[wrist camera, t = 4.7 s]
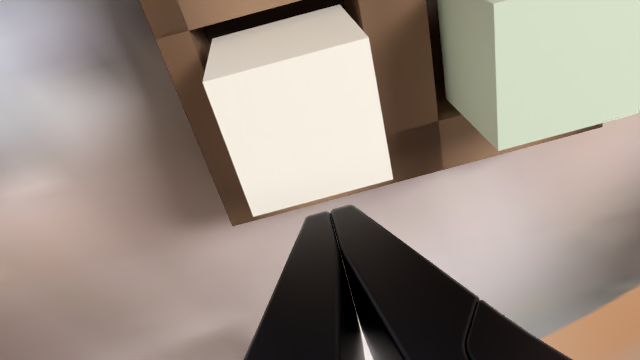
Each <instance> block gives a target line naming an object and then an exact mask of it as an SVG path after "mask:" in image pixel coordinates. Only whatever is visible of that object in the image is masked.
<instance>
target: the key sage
mask: <svg viewBox="0 0 640 360" xmlns="http://www.w3.org/2000/svg"><path fill="white" fill-rule="evenodd" d="M437 5H438V16H439V26H440V37H441V48H442V59H443V70H444V81H445V92H446V99H447V100H448V101H449V102H450V103H451V104H452V105H453V106H454V107H455V108H456V109H457V110H458V111H459V112H460V113H461V114H462V115H463V116H464V117H465V118H466V119H467V120H468V121H469V122H470V123H471V124H472V125H473V126H474V127H475V128H476V129H477V130H478V131H479V132H480V133H481V134H482V135H483V136H484V137H485V138H486V139H487V140H488V141H489V142H490V143H491V144H492V145H493V146H494V147H495V148H496V149H497V150H498V151H500V150H504V149H508V148H512V147H515V146H519V145H523V144H526V143H530V142H534V141H538V140H541V139H545V138H549V137H553V136H556V135H560V134H564V133H567V132H571V131H575V130H579V129H582V128H586V127H590V126H593V125H597V124H601V123H605V122H608V121H612V120H616V119H619V118H623V117H627V116H631V115H634V114H638V113H639V107H640V0H437Z"/></svg>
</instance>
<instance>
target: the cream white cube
mask: <svg viewBox="0 0 640 360" xmlns="http://www.w3.org/2000/svg"><path fill="white" fill-rule="evenodd" d="M202 83H203V85H204V88H205V90H206V93H207V96H208V98H209V101H210V104H211V106H212V109H213V112H214V114H215V117H216V120H217V122H218V125H219V127H220V130H221V133H222V135H223V138H224V141H225V143H226V146H227V149H228V151H229V154H230V157H231V159H232V162H233V165H234V167H235V170H236V172H237V175H238V178H239V180H240V183H241V186H242V188H243V191H244V194H245V196H246V199H247V202H248V204H249V207H250V210H251V212H252V215H253V217H255V216H259V215H262V214H266V213H270V212H274V211H277V210H281V209H285V208H288V207H292V206H296V205H300V204H303V203H307V202H311V201H314V200H318V199H322V198H326V197H329V196H333V195H337V194H340V193H344V192H348V191H352V190H355V189H359V188H363V187H367V186H370V185H374V184H378V183H381V182H385V181H389V180H393V175H392V169H391V164H390V158H389V152H388V146H387V140H386V135H385V129H384V123H383V117H382V111H381V106H380V100H379V94H378V88H377V82H376V77H375V71H374V65H373V59H372V53H371V48H370V42H369V37H368V36H367V35H366V34H365V33H364V31H363V30H362V29H361V28H360V27H359V26H358V25H357V24H356V22H355V21H354V20H353V19H352V18H351V17H350V16H349V14H348V13H347V12H346V11H345V10H344V9H343V8H342V6H341V5H340V4H339V5H335V6H332V7H328V8H324V9H320V10H317V11H313V12H309V13H306V14H302V15H298V16H294V17H291V18H287V19H283V20H280V21H276V22H272V23H268V24H265V25H261V26H257V27H254V28H250V29H246V30H243V31H239V32H235V33H231V34H228V35H224V36H220V37H217V38H213V39H212V43H211V47H210V51H209V56H208V60H207V64H206V69H205V73H204V77H203V82H202Z"/></svg>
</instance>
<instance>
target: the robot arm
mask: <svg viewBox="0 0 640 360" xmlns="http://www.w3.org/2000/svg"><path fill="white" fill-rule="evenodd" d="M330 215H331V216H330ZM331 218H332V220H331ZM332 222H333V223H332ZM333 226H334V227H333ZM334 230H335V231H334ZM336 237H337V238H336ZM337 241H338V242H337ZM338 245H339V246H338ZM340 252H341V253H340ZM341 256H342V257H341ZM342 260H343V261H342ZM344 267H345V268H344ZM345 271H346V272H345ZM346 275H347V276H346ZM348 282H349V283H348ZM349 286H350V287H349ZM350 290H351V291H350ZM351 293H352V295H351ZM352 297H353V298H352ZM353 301H354V302H353ZM354 305H355V306H354ZM355 308H356V310H355ZM356 312H357V313H356ZM357 316H358V317H357ZM358 319H359V321H358ZM359 323H360V326H361V329H362V332H363V335H364V338H365V340H366V343H367V345H368V348H369V350H370V353H371V355H372V357H373V360H572V359H571V358H569V357H567V356H565V355H564V354H562V353H561V352H559V351H557V350H556V349H554V348H553V347H551V346H549V345H548V344H546V343H544V342H543V341H541V340H539V339H538V338H536V337H535V336H533V335H531V334H530V333H528V332H527V331H526V330H524V329H523V328H521V327H520V326H518V325H517V324H515V323H514V322H512V321H511V320H510V319H508V318H507V317H505V316H504V315H502V314H501V313H499V312H498V311H497V310H495V309H494V308H493V307H491V306H490V305H489V304H487V303H486V302H485V301H483V300H479V298H478V296H476V295H475V294H473V293H472V292H471V291H469V290H468V289H467V288H465V287H464V286H463V285H461V284H460V283H458V282H457V281H456V280H454V279H453V278H452V277H450V276H449V275H448V274H446V273H445V272H443V271H442V270H441V269H439V268H438V267H437V266H435V265H434V264H433V263H431V262H430V261H428V260H427V259H426V258H424V257H423V256H422V255H420V254H419V253H418V252H416V251H415V250H413V249H412V248H411V247H409V246H408V245H407V244H405V243H404V242H403V241H401V240H400V239H398V238H397V237H396V236H394V235H393V234H392V233H390V232H389V231H388V230H386V229H385V228H383V227H382V226H381V225H379V224H378V223H377V222H375V221H374V220H373V219H371V218H370V217H369V216H367V215H366V214H364V213H363V212H362V211H360V210H359V209H358V208H356V207H355V206H353V205H347V206H343V207H340V208H336V209H333V210H332V211H331V212H330V213H329V212H327V211H325V212H321V213H317V214H313V215H310V216H307V217H306V219H305V221H304V223H303V226H302V228H301V230H300V232H299V235H298V237H297V239H296V242H295V244H294V246H293V248H292V251H291V253H290V255H289V258H288V260H287V262H286V264H285V267H284V269H283V271H282V273H281V276H280V278H279V280H278V283H277V285H276V287H275V289H274V292H273V294H272V296H271V299H270V301H269V303H268V305H267V308H266V310H265V312H264V315H263V317H262V319H261V321H260V324H259V326H258V328H257V331H256V333H255V335H254V337H253V340H252V342H251V344H250V346H249V349H248V351H247V353H246V356H245V358H244V360H365V356H364V349H363V342H362V335H361V330H360V326H359Z"/></svg>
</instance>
